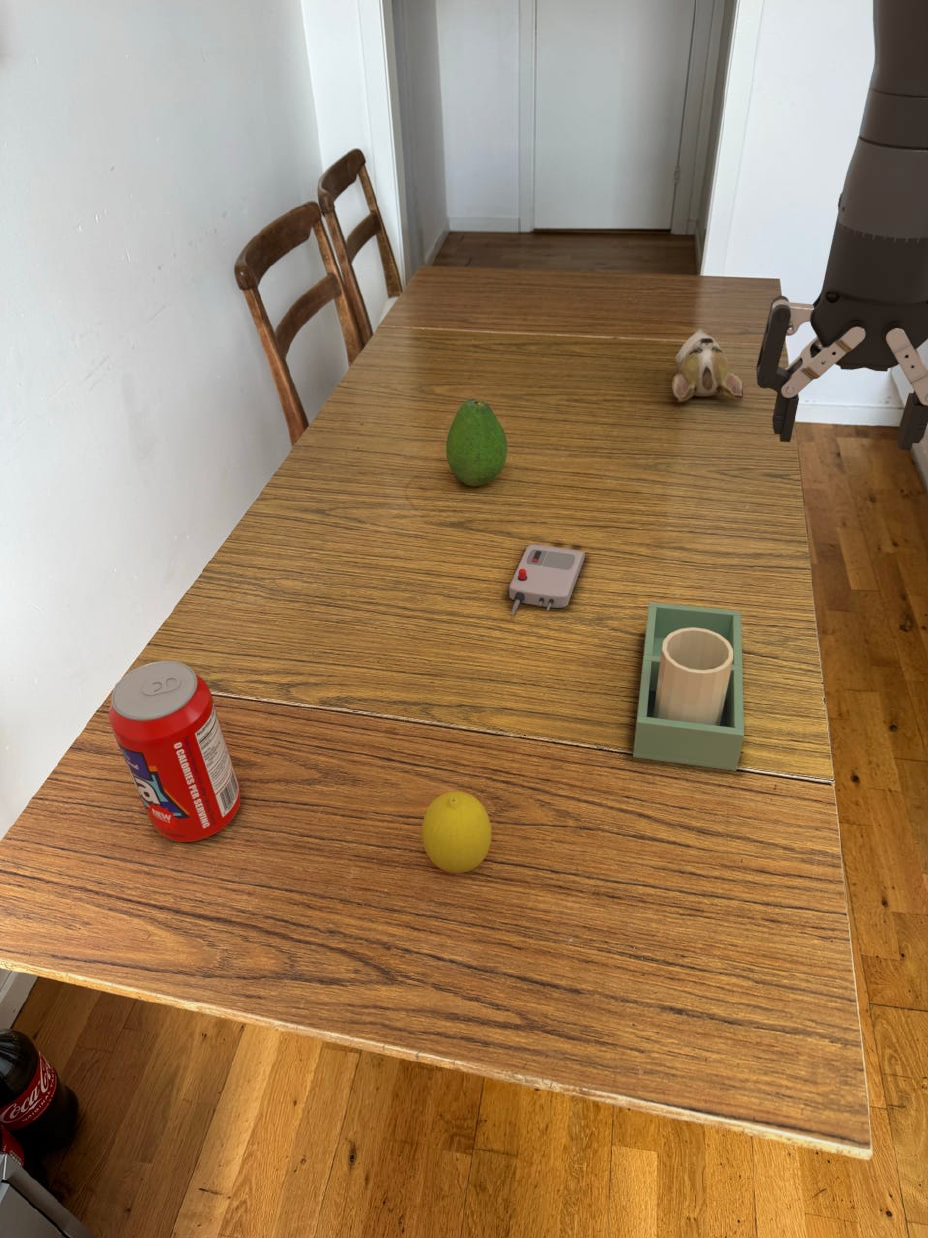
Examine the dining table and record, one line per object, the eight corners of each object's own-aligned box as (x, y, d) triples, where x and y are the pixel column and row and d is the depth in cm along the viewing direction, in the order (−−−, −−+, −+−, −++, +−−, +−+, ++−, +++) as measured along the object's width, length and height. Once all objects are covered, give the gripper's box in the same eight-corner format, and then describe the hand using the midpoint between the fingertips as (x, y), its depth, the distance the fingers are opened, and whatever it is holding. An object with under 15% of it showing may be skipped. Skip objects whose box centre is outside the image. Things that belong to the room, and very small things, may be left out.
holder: (736, 771, 79) (744, 735, 76) (632, 757, 81) (636, 721, 78) (734, 645, 92) (741, 610, 89) (645, 635, 94) (649, 601, 91)
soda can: (250, 831, 76) (212, 706, 67) (157, 860, 74) (104, 736, 65) (235, 767, 82) (198, 644, 73) (148, 792, 80) (98, 669, 71)
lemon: (451, 825, 76) (446, 762, 71) (505, 855, 73) (504, 792, 68) (411, 871, 73) (403, 808, 68) (467, 904, 70) (462, 841, 65)
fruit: (492, 462, 124) (490, 381, 117) (517, 488, 119) (517, 405, 111) (439, 475, 122) (433, 394, 114) (462, 503, 116) (458, 418, 109)
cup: (729, 716, 83) (744, 643, 78) (701, 755, 80) (714, 682, 74) (671, 691, 86) (681, 619, 81) (641, 728, 83) (650, 655, 77)
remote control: (587, 549, 107) (589, 528, 105) (558, 630, 95) (559, 608, 94) (534, 542, 109) (534, 521, 107) (499, 620, 97) (498, 598, 95)
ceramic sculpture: (736, 317, 138) (753, 362, 127) (728, 369, 144) (744, 416, 133) (666, 319, 139) (677, 364, 128) (661, 371, 145) (671, 418, 134)
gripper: (787, 230, 56) (746, 459, 66) (1036, 234, 53) (954, 473, 63) (781, 198, 62) (745, 413, 72) (1006, 201, 59) (935, 424, 69)
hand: (843, 441), depth 68 cm, fingers open, 8 cm apart
